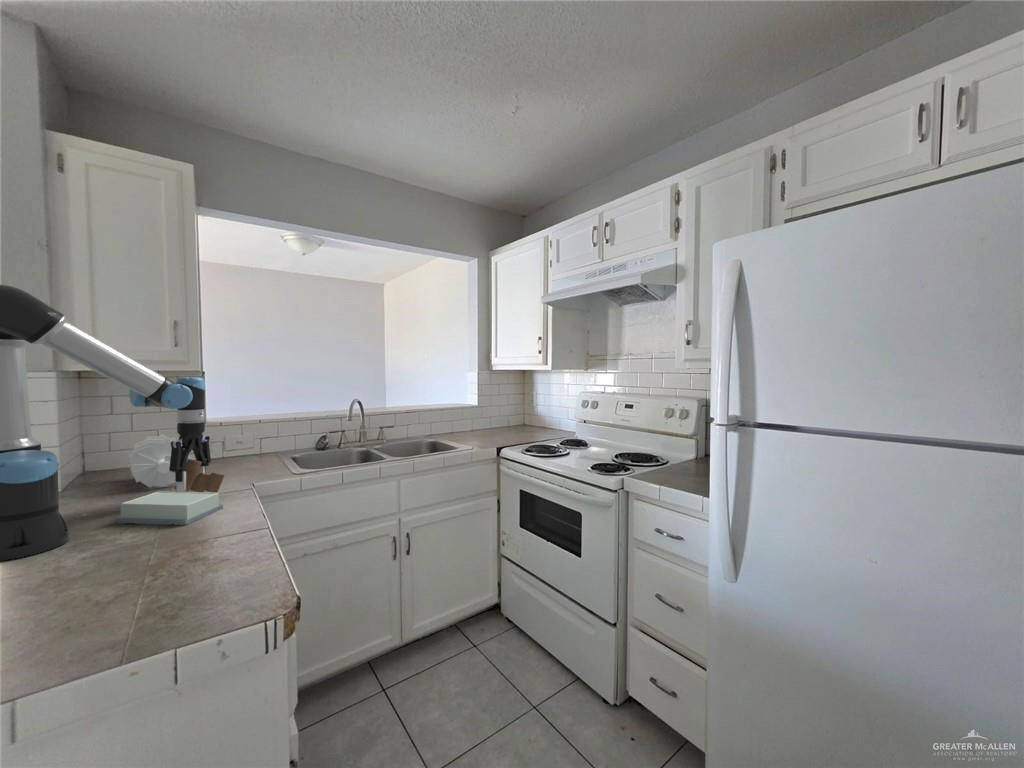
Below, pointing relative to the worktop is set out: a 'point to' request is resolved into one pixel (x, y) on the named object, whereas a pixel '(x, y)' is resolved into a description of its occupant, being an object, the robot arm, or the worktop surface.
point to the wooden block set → (201, 478)
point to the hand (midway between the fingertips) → (191, 487)
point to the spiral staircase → (153, 461)
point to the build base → (169, 508)
